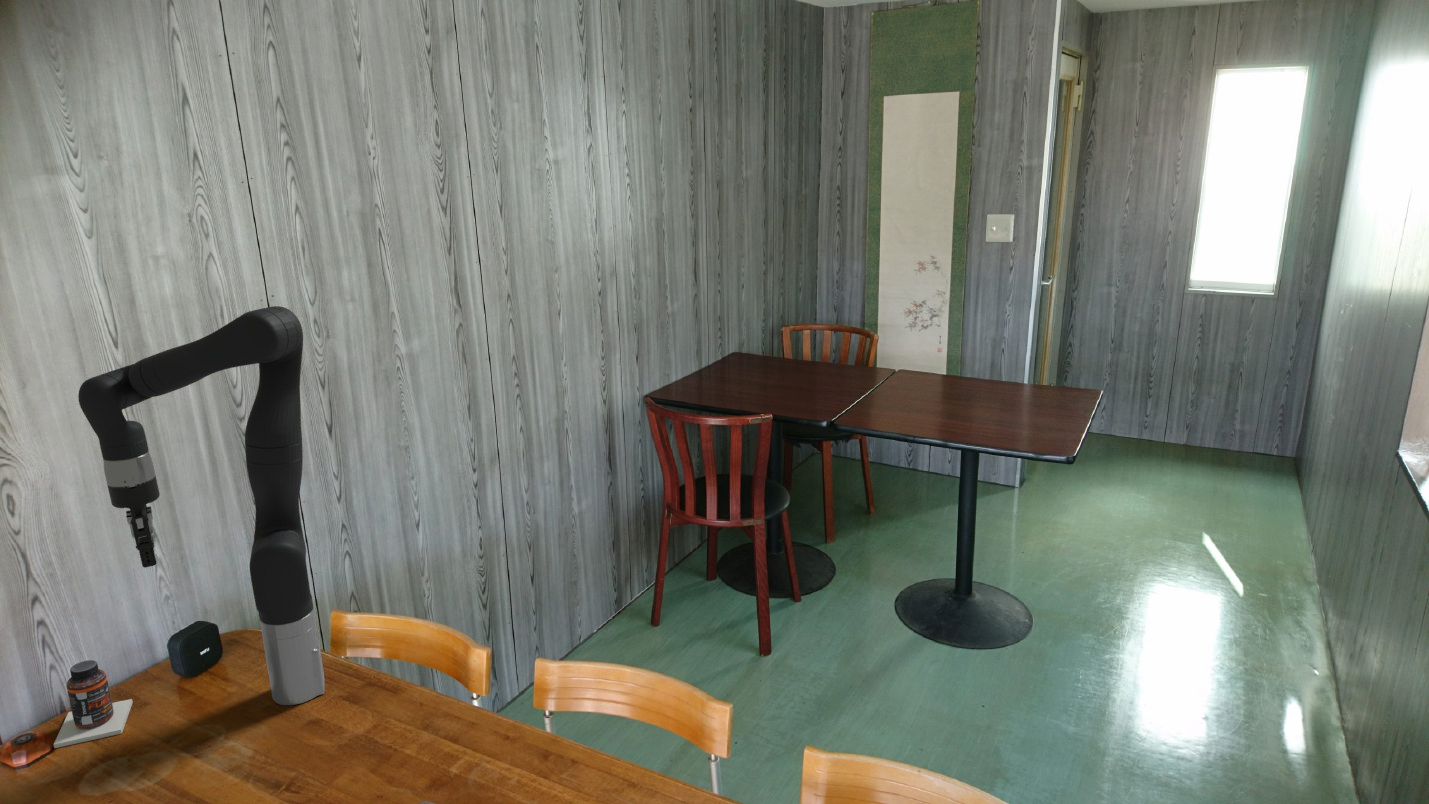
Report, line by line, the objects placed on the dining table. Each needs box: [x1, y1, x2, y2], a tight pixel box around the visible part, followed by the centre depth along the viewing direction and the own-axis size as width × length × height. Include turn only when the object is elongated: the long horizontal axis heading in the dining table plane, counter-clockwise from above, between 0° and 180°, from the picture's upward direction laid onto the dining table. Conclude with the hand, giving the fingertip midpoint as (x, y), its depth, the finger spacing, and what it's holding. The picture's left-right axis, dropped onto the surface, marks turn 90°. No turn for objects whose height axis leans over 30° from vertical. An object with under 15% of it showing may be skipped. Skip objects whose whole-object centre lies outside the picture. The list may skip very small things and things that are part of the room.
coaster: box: [53, 698, 134, 749], centre depth 156 cm, size 10×10×1 cm
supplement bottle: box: [66, 659, 114, 728], centre depth 154 cm, size 6×6×11 cm
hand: (148, 557), depth 161 cm, fingers open, 8 cm apart
